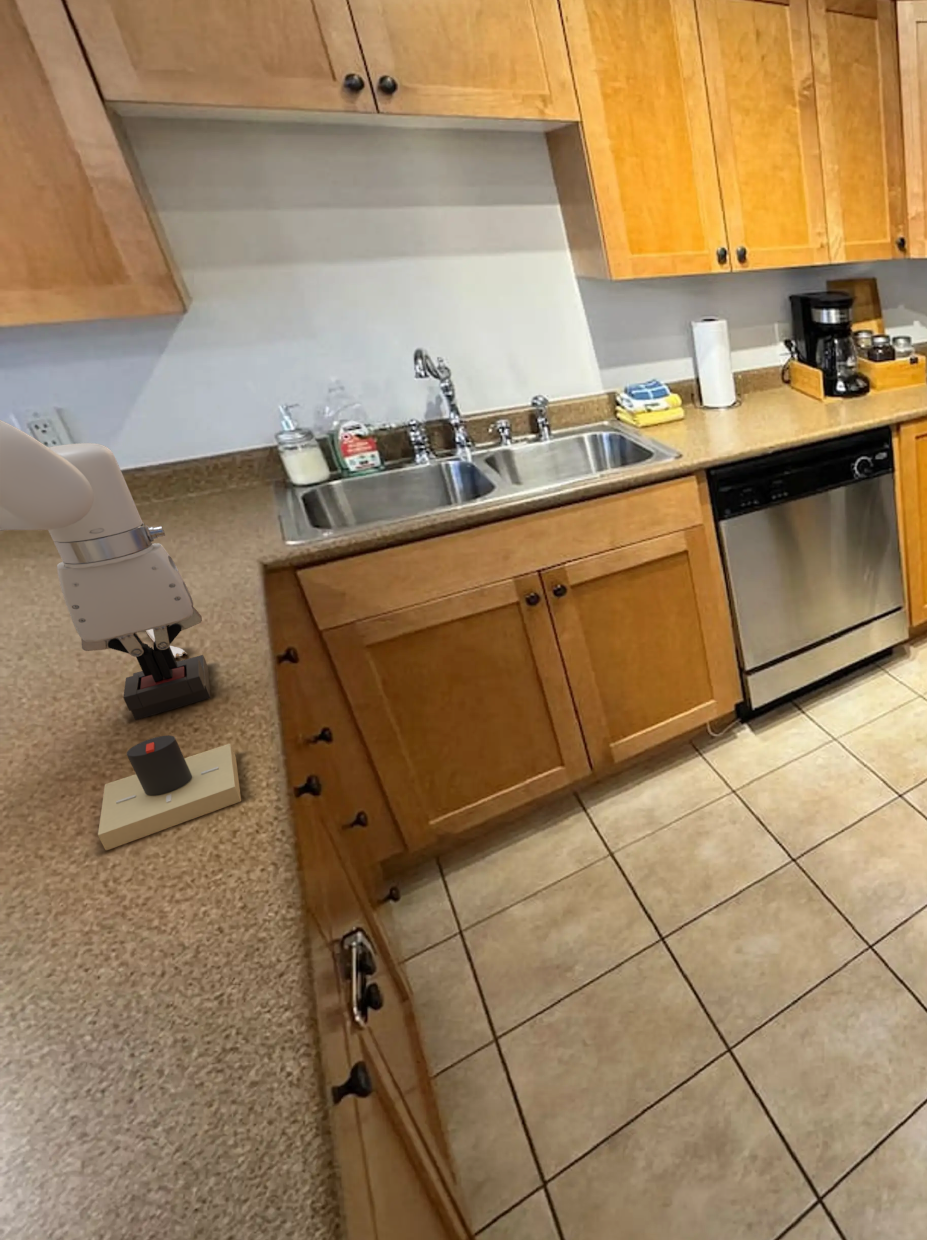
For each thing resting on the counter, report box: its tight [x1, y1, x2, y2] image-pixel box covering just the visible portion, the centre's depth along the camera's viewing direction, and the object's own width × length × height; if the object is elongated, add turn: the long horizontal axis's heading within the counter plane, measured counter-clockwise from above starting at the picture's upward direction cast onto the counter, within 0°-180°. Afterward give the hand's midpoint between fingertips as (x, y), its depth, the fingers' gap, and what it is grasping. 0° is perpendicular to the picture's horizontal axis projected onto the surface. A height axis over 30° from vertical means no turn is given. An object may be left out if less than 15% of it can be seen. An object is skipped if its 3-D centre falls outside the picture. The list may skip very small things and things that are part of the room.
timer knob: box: [126, 734, 192, 796], centre depth 81 cm, size 4×4×5 cm
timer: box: [97, 743, 242, 851], centre depth 82 cm, size 11×10×2 cm
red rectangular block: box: [140, 666, 187, 689], centre depth 100 cm, size 4×4×2 cm
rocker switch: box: [122, 654, 211, 721], centre depth 103 cm, size 13×7×4 cm, turn 45°
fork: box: [145, 629, 188, 659], centre depth 116 cm, size 3×20×2 cm, turn 54°
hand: (164, 676), depth 100 cm, fingers closed
